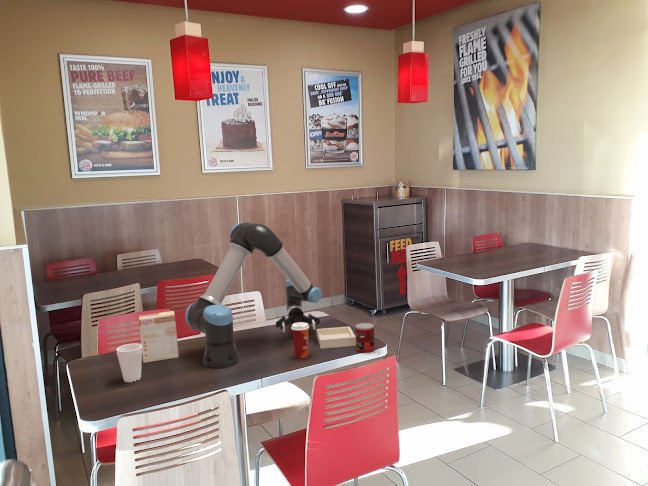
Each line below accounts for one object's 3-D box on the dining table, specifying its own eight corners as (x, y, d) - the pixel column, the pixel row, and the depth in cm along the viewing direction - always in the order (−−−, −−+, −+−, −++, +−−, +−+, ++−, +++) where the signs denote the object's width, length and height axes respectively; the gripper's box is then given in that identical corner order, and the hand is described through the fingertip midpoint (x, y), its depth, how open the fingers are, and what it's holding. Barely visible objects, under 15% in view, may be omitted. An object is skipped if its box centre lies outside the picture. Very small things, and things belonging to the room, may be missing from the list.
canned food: (353, 348, 233) (352, 324, 231) (370, 345, 235) (369, 322, 234) (359, 354, 226) (359, 329, 224) (377, 351, 228) (376, 326, 226)
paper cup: (310, 358, 222) (308, 326, 220) (292, 359, 222) (290, 327, 220) (311, 352, 230) (309, 321, 228) (293, 352, 230) (291, 322, 228)
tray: (320, 348, 234) (320, 340, 233) (316, 337, 250) (316, 329, 249) (356, 345, 236) (355, 337, 235) (350, 334, 252) (349, 326, 251)
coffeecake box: (177, 352, 237) (174, 310, 234) (179, 357, 230) (175, 314, 227) (142, 357, 232) (138, 314, 229) (143, 363, 225) (138, 319, 222)
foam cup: (136, 372, 215) (133, 341, 213) (149, 377, 209) (146, 346, 207) (115, 380, 208) (111, 348, 206) (127, 385, 202) (124, 353, 200)
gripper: (321, 320, 257) (327, 333, 236) (270, 324, 254) (271, 338, 234) (321, 305, 256) (326, 317, 235) (269, 309, 253) (270, 322, 233)
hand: (299, 328), depth 234 cm, fingers open, 13 cm apart
